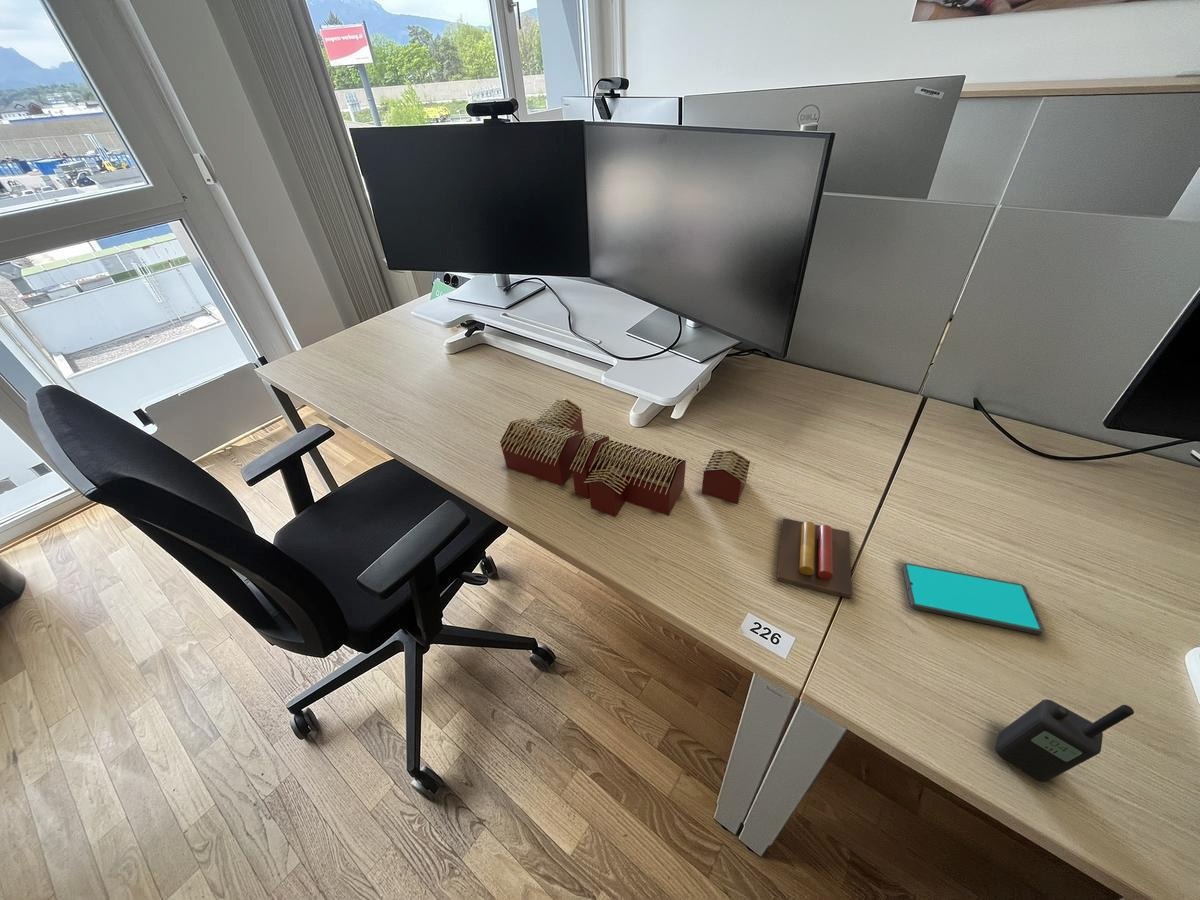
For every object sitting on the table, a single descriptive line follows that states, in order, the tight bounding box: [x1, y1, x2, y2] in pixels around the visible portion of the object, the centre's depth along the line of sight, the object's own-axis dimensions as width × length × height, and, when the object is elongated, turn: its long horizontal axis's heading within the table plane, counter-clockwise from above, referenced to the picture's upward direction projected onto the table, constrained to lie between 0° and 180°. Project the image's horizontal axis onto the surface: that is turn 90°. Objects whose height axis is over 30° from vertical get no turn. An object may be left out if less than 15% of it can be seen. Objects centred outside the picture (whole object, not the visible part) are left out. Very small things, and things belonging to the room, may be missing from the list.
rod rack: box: [776, 517, 853, 600], centre depth 71 cm, size 10×12×3 cm
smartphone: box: [902, 562, 1045, 635], centre depth 64 cm, size 7×1×15 cm
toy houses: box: [498, 398, 756, 518], centre depth 85 cm, size 45×20×10 cm, turn 62°
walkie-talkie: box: [995, 698, 1135, 783], centre depth 45 cm, size 5×3×15 cm
